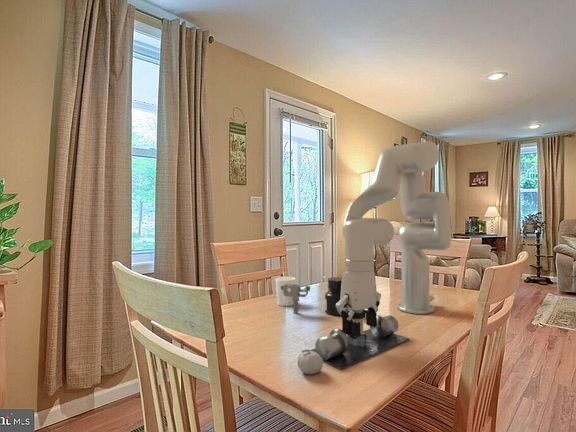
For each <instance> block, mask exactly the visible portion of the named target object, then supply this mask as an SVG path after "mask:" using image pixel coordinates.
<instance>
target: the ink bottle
mask: <svg viewBox="0 0 576 432" xmlns="http://www.w3.org/2000/svg"><path fill="white" fill-rule="evenodd" d="M341 283H342V277H341V276H340V277H339V276H334V277H332V276H331V277H328V278H327V289H328V291H326V292H325V294H324V311H325V314H329V315H330V316H331V315H332V316H338V317H339V316H340V315H339V314H338V311H337V308H336V303H337V302H338V301H339V300H340V296H341Z"/></svg>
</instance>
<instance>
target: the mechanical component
mask: <svg viewBox="0 0 576 432" xmlns="http://www.w3.org/2000/svg"><path fill="white" fill-rule="evenodd" d="M288 288H290V289H291V291H288V290H287V289H288ZM281 290H283V294H284V296H288V297H292V301H293V304H294V305H293V315H297V314H299V302H300V298H306V297H307V296H308V294H309V292H310V291H311V286H310V285H305V287H304V288H303V289H302V287H301V286H300V284H296V283H295V284H284V285H281ZM304 293H305V294H304Z"/></svg>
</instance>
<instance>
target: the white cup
mask: <svg viewBox="0 0 576 432" xmlns="http://www.w3.org/2000/svg"><path fill="white" fill-rule="evenodd" d="M296 279H297V278H296V277H294V276H278V277H275V291H276V303H277V305H278V306H282V307H289V306H294V304H293V301H292V297H288V296H284V294H283V290H281V285H284V284H296V282H297V281H296ZM287 290H288V291H291V289H290V288H288V289H287Z"/></svg>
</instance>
